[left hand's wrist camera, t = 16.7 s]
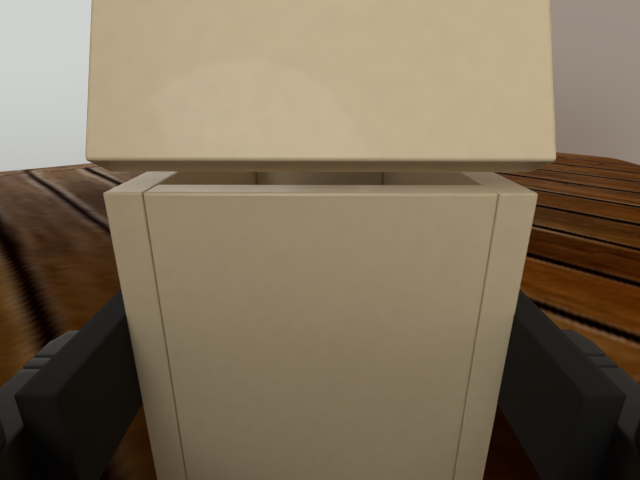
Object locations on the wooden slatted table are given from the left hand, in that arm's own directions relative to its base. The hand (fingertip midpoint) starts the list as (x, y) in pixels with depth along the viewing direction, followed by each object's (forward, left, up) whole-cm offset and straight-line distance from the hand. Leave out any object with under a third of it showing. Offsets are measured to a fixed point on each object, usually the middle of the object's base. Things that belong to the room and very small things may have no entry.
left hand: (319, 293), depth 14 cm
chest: (-3, +3, -7) cm, 8 cm away
